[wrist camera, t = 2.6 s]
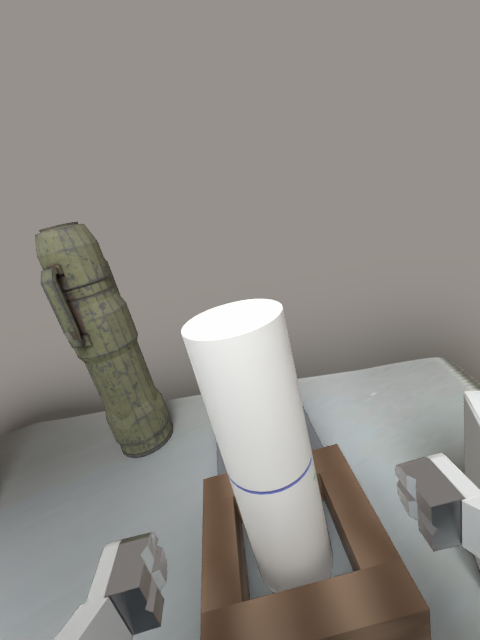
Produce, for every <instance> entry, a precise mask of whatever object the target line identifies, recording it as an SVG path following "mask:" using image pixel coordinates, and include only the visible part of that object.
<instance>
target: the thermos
mask: <svg viewBox="0 0 480 640" xmlns="http://www.w3.org/2000/svg"><path fill="white" fill-rule="evenodd" d="M35 242H36V252H37V258H38V260H39V262H40V264H41V266H42V268H43V271H42V272H41V285H42V287H43V289H44V292H45V294H46V296H47V298H48V300H49V302H50V304H51V307H52V309H53V311H54V313H55V315H56V317H57V319H58V321H59V324H60V326H61V328H62V330H63V332H64V334H65V336H66V338H67V339H68V341H69V343H70V344H71V346H72V348H74V350H75V352H76V354H77V356H78V358H80V359H81V360H82V361H83V362H84V363H85V365H86V367H87V369H88V371H89V373H90V375H91V377H92V380H93V382H94V384H95V386H96V388H97V390H98V392H99V395H100V397H101V399H102V401H103V403H104V405H105V408H106V419H107V422H108V424H109V426H110V428H111V430H112V432H113V434H114V437H115V439H116V441H117V442H118V443H119V444H120V445H121V448H122V451H123V453H124V454H125V455H126V456H128V457H132V458H137V457H143V456H146V455H149V454H151V453H153V452H155V451H156V450H158V449H160V448H161V447H162V446H163V445H164V444H166V443H167V441H168V440H169V439H170V437H171V435H172V433H173V426H172V423H171V422H170V419H169V413H168V410H167V407H166V405H165V402H164V400H163V397H162V394H161V393H160V392H159V391H158V390H157V389H156V388H155V386H154V383H153V381H152V378H151V375H150V373H149V370H148V368H147V365H146V363H145V360H144V357H143V355H142V352H141V350H140V347H139V345H138V342H137V336H138V333H137V330H136V328H135V325H134V322H133V320H132V317H131V314H130V312H129V309H128V307H127V304H126V302H125V301H124V300H123V298H122V297H121V296H120V293H119V291H118V288H117V285H116V283H115V280H114V278H113V275H112V272H111V270H110V267H109V265H108V262H107V261H106V260H105V258H104V257H103V254H102V252H101V249H100V246H99V244H98V242H97V240H96V239H95V237H94V236H93V235H92V234H91V232H90V231H89V230H88V229H87V227H86V226H85V225H84V224H78V222H72V223H66V224H62V225H57V226H53V227H49V228H45V229H42V230H40V233H39V234H36V235H35Z"/></svg>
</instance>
